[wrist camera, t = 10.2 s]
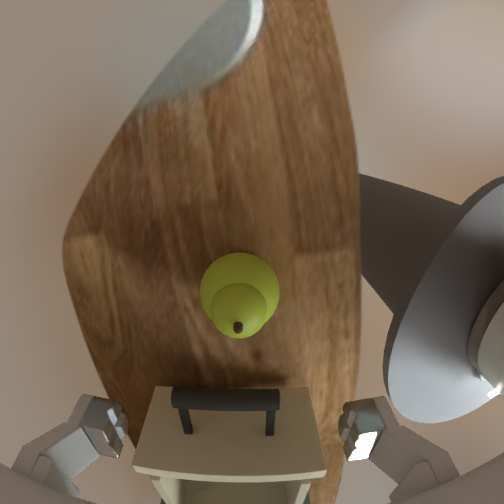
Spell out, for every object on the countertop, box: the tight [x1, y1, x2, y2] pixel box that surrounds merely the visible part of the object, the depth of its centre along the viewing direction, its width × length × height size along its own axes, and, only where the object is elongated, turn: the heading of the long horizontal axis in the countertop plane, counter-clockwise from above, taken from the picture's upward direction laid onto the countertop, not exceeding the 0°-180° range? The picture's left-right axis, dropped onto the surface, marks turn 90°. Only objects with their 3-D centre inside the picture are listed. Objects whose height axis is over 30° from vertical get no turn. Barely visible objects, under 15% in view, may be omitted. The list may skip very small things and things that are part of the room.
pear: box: [200, 252, 280, 338], centre depth 18 cm, size 5×5×7 cm
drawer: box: [132, 386, 327, 504], centre depth 21 cm, size 18×13×9 cm
